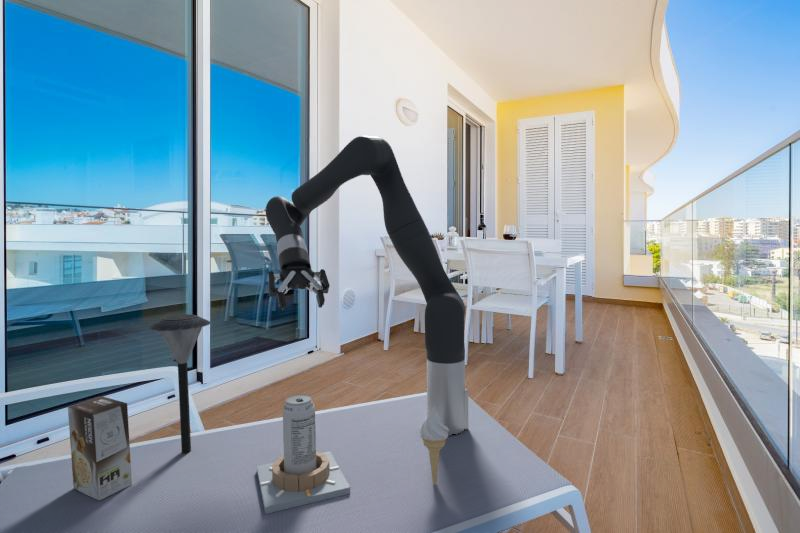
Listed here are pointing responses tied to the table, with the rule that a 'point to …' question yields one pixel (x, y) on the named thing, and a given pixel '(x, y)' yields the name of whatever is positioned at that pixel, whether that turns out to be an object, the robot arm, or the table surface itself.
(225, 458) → the table surface
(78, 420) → the coffee box
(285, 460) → the energy drink can
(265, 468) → the dial plate
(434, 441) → the ice cream cone
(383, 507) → the table surface
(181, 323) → the solar garden light
